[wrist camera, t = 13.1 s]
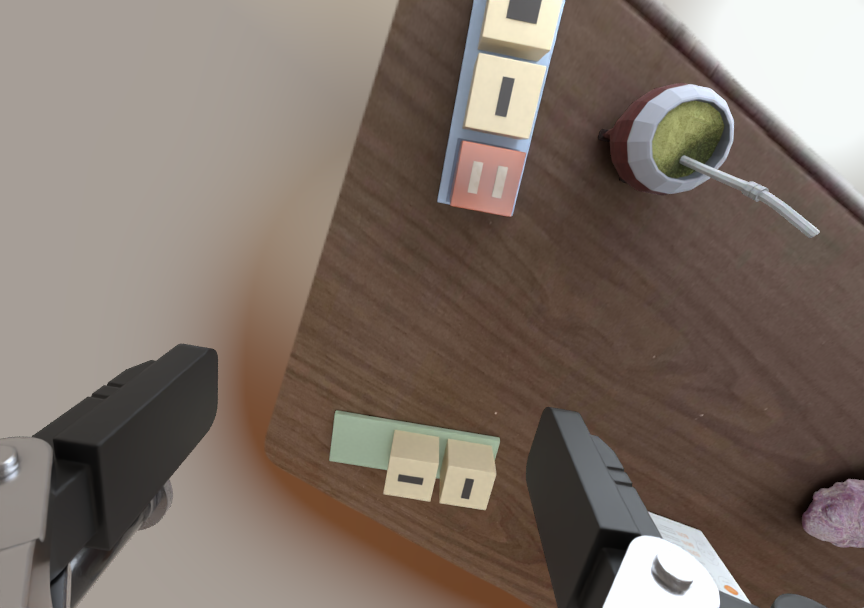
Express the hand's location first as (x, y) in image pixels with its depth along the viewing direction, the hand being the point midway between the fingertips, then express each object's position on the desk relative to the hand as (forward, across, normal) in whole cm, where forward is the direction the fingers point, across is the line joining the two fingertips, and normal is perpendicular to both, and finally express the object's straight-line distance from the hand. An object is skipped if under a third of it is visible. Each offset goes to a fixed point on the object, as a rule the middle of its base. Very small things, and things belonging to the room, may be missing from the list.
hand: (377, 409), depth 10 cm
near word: (+28, -4, -10) cm, 30 cm away
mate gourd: (+28, -16, -9) cm, 34 cm away
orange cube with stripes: (+27, -4, -5) cm, 28 cm away
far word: (+28, -3, +24) cm, 37 cm away
